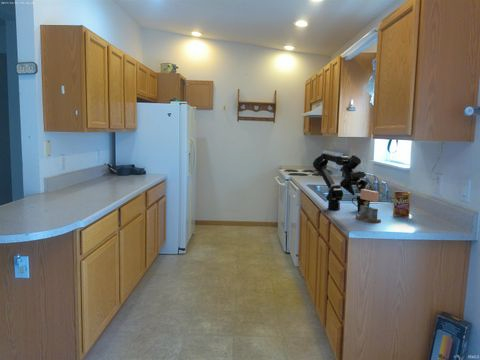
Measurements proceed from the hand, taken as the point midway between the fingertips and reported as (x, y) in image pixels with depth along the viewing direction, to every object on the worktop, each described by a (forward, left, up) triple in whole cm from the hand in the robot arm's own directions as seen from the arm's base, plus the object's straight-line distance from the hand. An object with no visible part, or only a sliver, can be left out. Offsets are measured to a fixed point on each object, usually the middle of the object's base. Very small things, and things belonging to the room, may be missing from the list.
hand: (359, 195), depth 228 cm
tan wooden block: (+7, -4, -1) cm, 9 cm away
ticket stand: (+7, -4, -13) cm, 16 cm away
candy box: (+19, +20, -13) cm, 31 cm away
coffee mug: (-6, +20, -13) cm, 24 cm away
